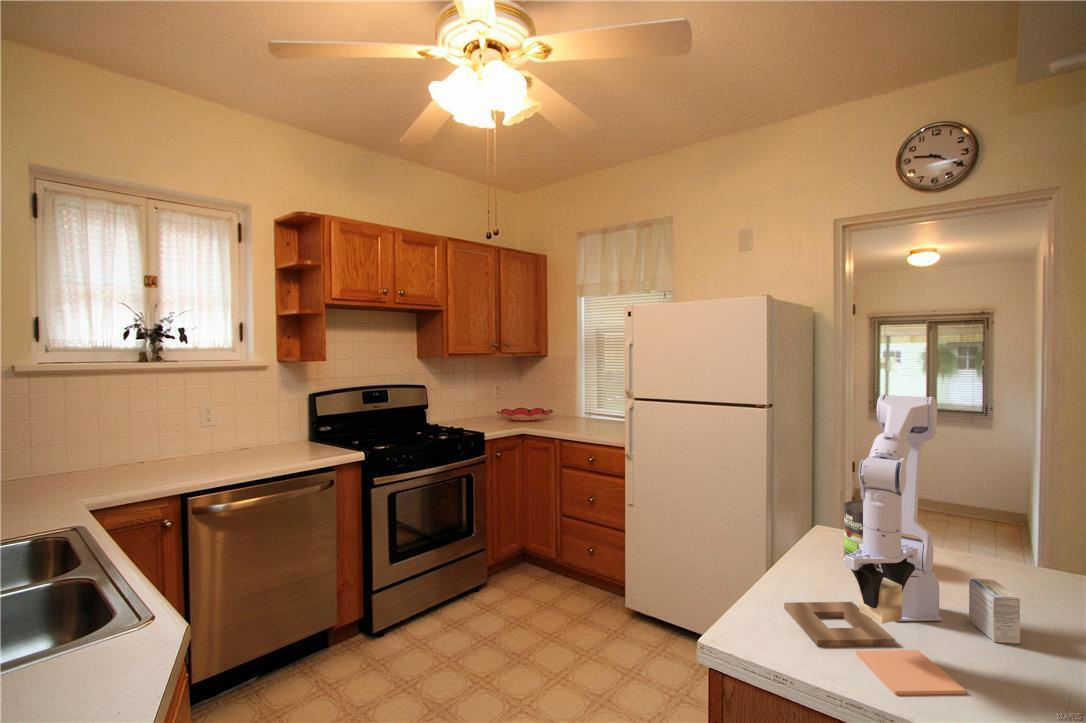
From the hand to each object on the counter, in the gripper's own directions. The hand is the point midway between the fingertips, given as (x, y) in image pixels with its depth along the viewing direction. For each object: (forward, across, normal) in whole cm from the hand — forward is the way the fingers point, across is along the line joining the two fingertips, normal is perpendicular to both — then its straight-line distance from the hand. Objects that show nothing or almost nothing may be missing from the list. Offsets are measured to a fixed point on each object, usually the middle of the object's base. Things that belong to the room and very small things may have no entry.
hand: (881, 603), depth 95 cm
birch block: (+2, 0, 0) cm, 2 cm away
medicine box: (+10, -26, +1) cm, 28 cm away
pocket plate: (+9, -1, -10) cm, 14 cm away
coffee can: (+10, -32, -31) cm, 45 cm away
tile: (+10, 0, +5) cm, 11 cm away
